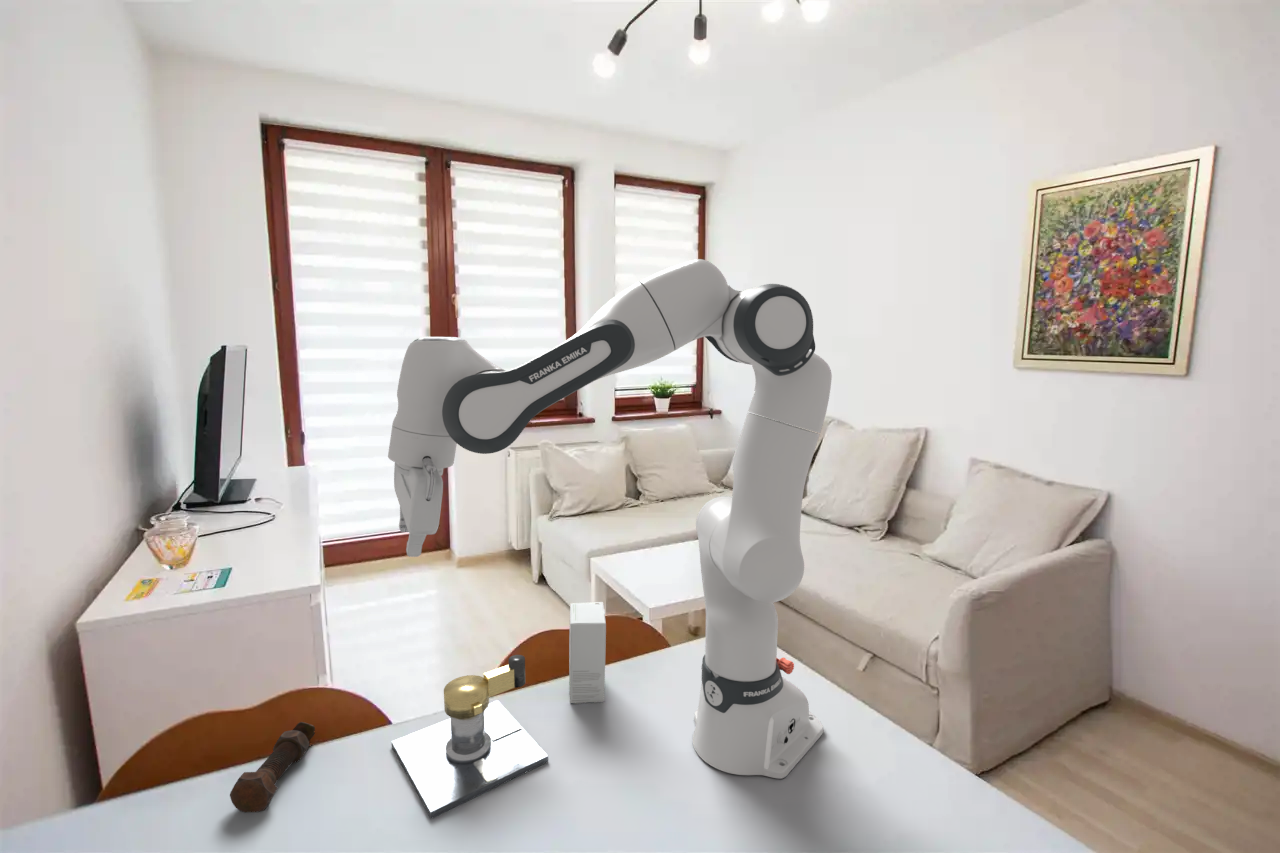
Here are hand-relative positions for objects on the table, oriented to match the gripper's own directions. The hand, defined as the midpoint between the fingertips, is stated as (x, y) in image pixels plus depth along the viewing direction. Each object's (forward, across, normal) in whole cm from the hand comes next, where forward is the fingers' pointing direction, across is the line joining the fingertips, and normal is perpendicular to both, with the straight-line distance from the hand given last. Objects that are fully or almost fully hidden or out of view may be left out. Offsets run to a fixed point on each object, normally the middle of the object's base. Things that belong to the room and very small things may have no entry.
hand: (408, 542), depth 86 cm
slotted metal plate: (+33, -4, -13) cm, 36 cm away
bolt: (+39, +5, +12) cm, 41 cm away
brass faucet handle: (+25, -2, -15) cm, 29 cm away
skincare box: (+30, +4, -36) cm, 47 cm away
